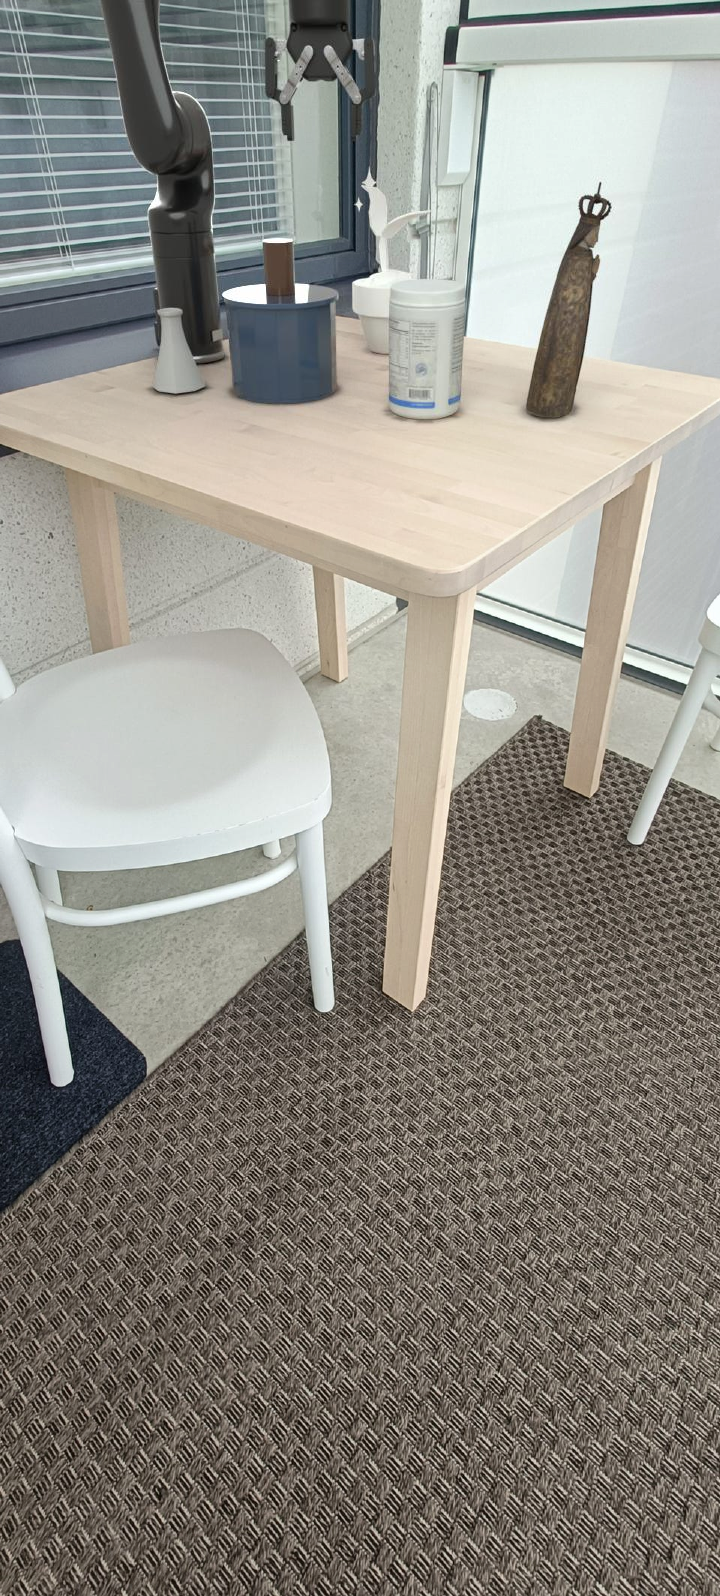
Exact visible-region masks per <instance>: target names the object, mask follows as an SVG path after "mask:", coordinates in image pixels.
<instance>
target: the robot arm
mask: <svg viewBox="0 0 720 1596" xmlns="http://www.w3.org/2000/svg"><path fill="white" fill-rule="evenodd" d="M98 2H99V7H100V10H101V14H102V18H103V22H104V26H105V31H106V35H107V38H108V42H109V47H110V53H111V56H112V61H113V67H114V73H115V79H116V85H117V91H118V98H119V103H120V109H121V114H122V121H123V125H124V126H123V127H124V130H125V134H126V138H127V142H128V144H129V148H130V150H131V152H132V155H133V156H134V158H135V160H136V161H137V162H138V163H139V165H140V166H141V167H142V168H143V169H144V170H145V171H147V172H148V173H150V174H152V175H155V176H156V180H157V189H156V193H155V197H154V200H153V201H152V202H151V204H150V206H149V207H148V210H147V223H148V229H149V237H150V244H151V253H152V259H153V267H154V275H155V283H156V287H155V288H154V289H153V290H152V297H153V303H154V304H153V305H154V311H155V320H156V321H154V322H153V327H154V336H155V341H156V345H157V347H159V348H160V345H161V331H162V326H161V318H160V315H158V312H157V310H160V309H164V308H179V309H181V310H182V312H183V313H182V315H181V322H182V328H183V332H184V335H185V339H186V342H187V344H188V347H189V349H190V351H191V354H192V356H193V358H194V361H195V363H196V364H206V363H213V362H216V361H220V360H222V359H223V358H224V357H225V348H224V344H223V343H224V342H223V338H224V336H223V334H224V333H223V327H222V320H221V309H220V307H221V306H220V297H219V287H218V286H219V285H218V274H217V264H216V253H215V242H214V241H215V240H214V230H213V212H214V209H215V201H216V193H215V192H216V190H215V171H214V154H213V153H214V151H213V141H212V134H211V133H212V132H211V127H210V124H209V120H208V117H207V115H206V112H205V110H204V108H203V107H202V105H201V104H200V103H199V102H198V100H197V99H196V98H194V97H193V96H192V95H191V94H188V93H185V92H182V91H173V89H172V86H171V83H170V79H169V75H168V71H167V67H166V62H165V58H164V53H163V47H162V43H161V34H160V9H161V0H98ZM350 4H351V3H350V0H288V11H289V12H288V19H289V33H288V37H287V39H278V38H274V37H269V36H268V37H267V38H266V39H265V40H264V79H265V80H264V89H265V91H264V93H265V96H266V97H267V98H268V99H272V100H274V101H276V102H277V103H278V104H279V106H280V120H281V121H280V122H281V132H282V134H283V136H286V141H287V142H294V141H295V118H294V117H295V116H294V105H292V100H293V98H294V96H295V95H296V93H297V91H298V89H299V88H300V86H301V84H302V83H303V81H304V80H305V81H307V82H309V83H310V82H313V83H314V82H319V81H324V82H335V81H337V80H339V82H340V83H341V85H342V86H343V88H344V89H345V91H346V93H347V94H348V96H349V98H350V99H351V101H352V104H351V105H350V139H351V140H350V141H351V142H356V141H357V142H358V139H359V138H358V137H359V136H361V135H362V133H363V131H364V130H363V129H364V128H363V125H364V122H363V119H364V117H363V116H364V115H363V114H364V113H363V110H364V109H363V108H364V104H365V102H367V101H369V100H370V99H373V98H375V97H376V95H377V92H378V91H377V68H376V67H377V66H376V65H377V64H376V42H375V39H374V38H373V37H372V36H366V37H365V38H357V39H353V37H352V34H351V24H350V23H351V22H350V21H351V17H350V16H351V15H350V13H351V12H350V10H351V8H350V7H351V5H350ZM354 50H355V51H356V52H357V55H358V59H360V61H364V77H365V78H364V79H365V87H364V88H362V89H359V87H358V86H357V84H356V82H355V80H354V79H353V76H352V74H351V73H350V71H349V70H348V68H347V66H346V65H347V63H348V62H349V60H350V58H351V56H352V54H353V52H354ZM286 51H287V54H288V55H289V56H290V59H291V60H292V62H293V64H294V67H293V69H292V71H291V73H290V74H289V76H288V79H287V81H286V83H285V85H284V87H283V89H280V88H279V87H278V84H279V83H278V77H279V76H278V74H279V73H278V68H279V67H278V66H279V65H278V62H279V61H281V60H282V59H283V57H284V53H285V52H286Z"/></svg>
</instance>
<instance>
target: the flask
mask: <svg viewBox="0 0 720 1596" xmlns="http://www.w3.org/2000/svg"><path fill="white" fill-rule="evenodd" d="M157 312H158V315H160V318H161V326H162V331H161V345H160V347H159V351H158V357H157V362H156V367H155V372H154V375H153V381H152V385H151V386H152V388H154V389H155V390H156V391H158V392H161V393H168V394H169V393H170V394H182V393H190V392H196V391H198V390H200V389H202V388H205V387H206V386H207V385H206V383H205V380H204V378H203V376H202V373H201V372H200V370H199V367H198V365H197V363H195V361H194V358H193V356H192V354H191V351H190V349H189V347H188V344H187V342H186V339H185V335H184V332H183V328H182V322H181V315H182V313H183V312H182V310H181V309H179V308H164V309H160V310H157Z"/></svg>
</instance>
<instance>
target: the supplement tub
mask: <svg viewBox="0 0 720 1596" xmlns="http://www.w3.org/2000/svg"><path fill="white" fill-rule="evenodd" d="M413 279H414V280H406V281H400V282H396V283H394V284H392V285H391V288H390V298H389V301H390V302H389V354H388V408H389V410H390V411H391V412H392V413H393V414H395V415H396V416H400V417H402V418H405V419H406V418H407V419H413V420H436V419H442V418H447V417H449V416H451V415H453V414H455V413H456V412H457V411H458V410H459V409H460V406H461V398H462V397H461V396H462V379H463V362H464V361H463V359H464V343H465V342H464V341H465V324H466V306H467V305H466V303H467V302H466V300H467V298H466V284H464V283H463V282H460V281H457V280H451V279H442V278H441V279H440V278H413Z"/></svg>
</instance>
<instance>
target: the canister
mask: <svg viewBox="0 0 720 1596" xmlns="http://www.w3.org/2000/svg"><path fill="white" fill-rule="evenodd" d="M336 310H337V309H336V301H335V302H333V303H330V304H327V305H322V306H317V307H309V308H299V309H254V308H245V307H238V306H233V305H230V304H227V303H225V313H226V324H227V335H228V345H229V347H228V348H229V359H230V370H231V382H232V388H233V393H234V395H235V396H236V397H238V398H240V399H243V400H245V401H249V402H255V403H261V404H272V405H276V404H277V405H287V404H289V405H290V404H301V403H302V404H303V403H309V402H315V401H319V400H322V399H325V398H328V397H330V396H332V395H333V394H335V393H336V391H337V387H338V382H337V379H338V377H337V373H338V372H337V319H336V318H337V317H336V313H337V312H336Z"/></svg>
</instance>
